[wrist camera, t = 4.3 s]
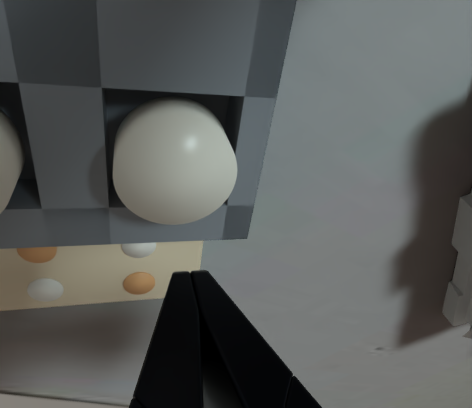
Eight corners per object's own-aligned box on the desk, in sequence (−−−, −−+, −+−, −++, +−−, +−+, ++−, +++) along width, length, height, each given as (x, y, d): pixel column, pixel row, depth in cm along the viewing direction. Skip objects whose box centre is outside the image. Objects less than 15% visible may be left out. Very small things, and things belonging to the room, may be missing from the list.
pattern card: (204, 217, 21) (205, 222, 21) (195, 291, 24) (196, 296, 24) (-50, 224, 18) (-53, 229, 17) (-19, 308, 21) (-21, 314, 21)
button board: (323, -330, 10) (380, -400, 8) (233, 202, 21) (247, 238, 18) (-465, -635, 7) (-795, -941, 4) (-95, 207, 17) (-132, 254, 14)
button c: (233, 99, 14) (246, 121, 13) (219, 195, 17) (229, 223, 15) (111, 92, 13) (109, 116, 12) (116, 196, 16) (115, 226, 14)
